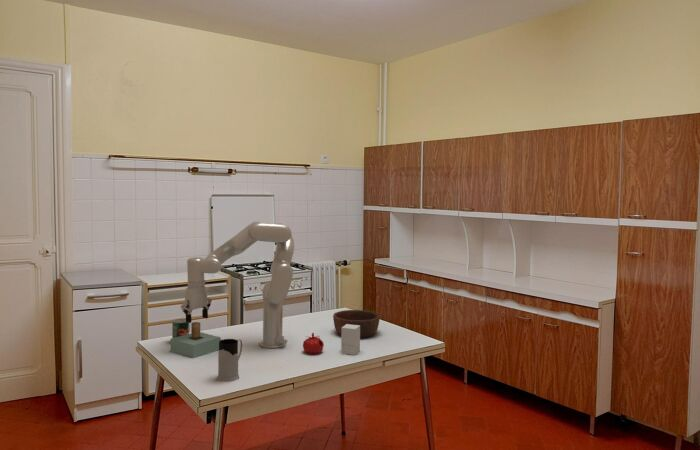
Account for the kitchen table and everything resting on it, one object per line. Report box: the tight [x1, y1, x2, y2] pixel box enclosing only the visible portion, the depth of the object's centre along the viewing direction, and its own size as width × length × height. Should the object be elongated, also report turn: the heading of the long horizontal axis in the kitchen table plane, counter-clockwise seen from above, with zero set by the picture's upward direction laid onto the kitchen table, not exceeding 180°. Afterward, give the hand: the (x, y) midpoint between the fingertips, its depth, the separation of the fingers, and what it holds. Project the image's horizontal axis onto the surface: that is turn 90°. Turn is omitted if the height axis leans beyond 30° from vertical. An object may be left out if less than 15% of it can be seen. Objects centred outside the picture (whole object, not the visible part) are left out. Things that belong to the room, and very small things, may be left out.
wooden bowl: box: [332, 309, 381, 339], centre depth 286 cm, size 25×25×10 cm
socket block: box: [170, 331, 221, 359], centre depth 251 cm, size 16×16×6 cm
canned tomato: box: [171, 318, 190, 338], centre depth 263 cm, size 8×8×11 cm
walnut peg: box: [190, 321, 201, 340], centre depth 251 cm, size 4×4×12 cm
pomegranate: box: [302, 332, 325, 355], centre depth 252 cm, size 10×10×9 cm
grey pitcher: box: [216, 338, 243, 383], centre depth 218 cm, size 9×14×15 cm, turn 159°
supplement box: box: [340, 324, 361, 356], centre depth 253 cm, size 7×7×13 cm
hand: (197, 320), depth 250 cm, fingers open, 9 cm apart
